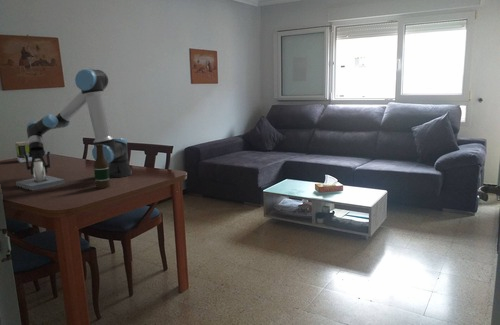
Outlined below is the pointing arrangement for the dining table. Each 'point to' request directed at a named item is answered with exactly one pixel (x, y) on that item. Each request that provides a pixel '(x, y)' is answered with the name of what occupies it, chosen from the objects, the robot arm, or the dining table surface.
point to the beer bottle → (101, 169)
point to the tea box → (23, 151)
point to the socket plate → (40, 183)
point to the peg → (39, 171)
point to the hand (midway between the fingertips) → (39, 178)
